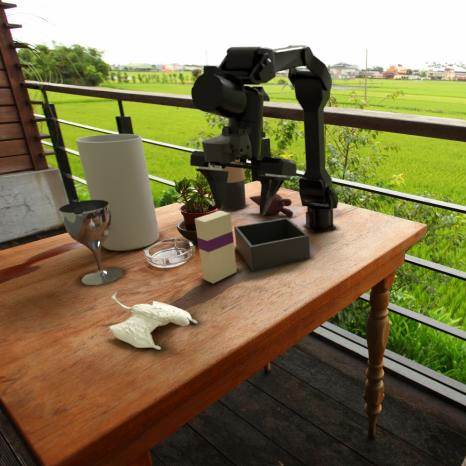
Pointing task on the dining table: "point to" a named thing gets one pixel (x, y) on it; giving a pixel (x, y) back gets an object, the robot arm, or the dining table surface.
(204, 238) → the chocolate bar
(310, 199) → the robot arm
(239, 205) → the travel mug
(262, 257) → the open storage bin
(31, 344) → the dining table surface
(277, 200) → the brown animal figurine
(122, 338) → the winged dragon toy
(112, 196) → the cylinder vase
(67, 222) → the silver goblet
